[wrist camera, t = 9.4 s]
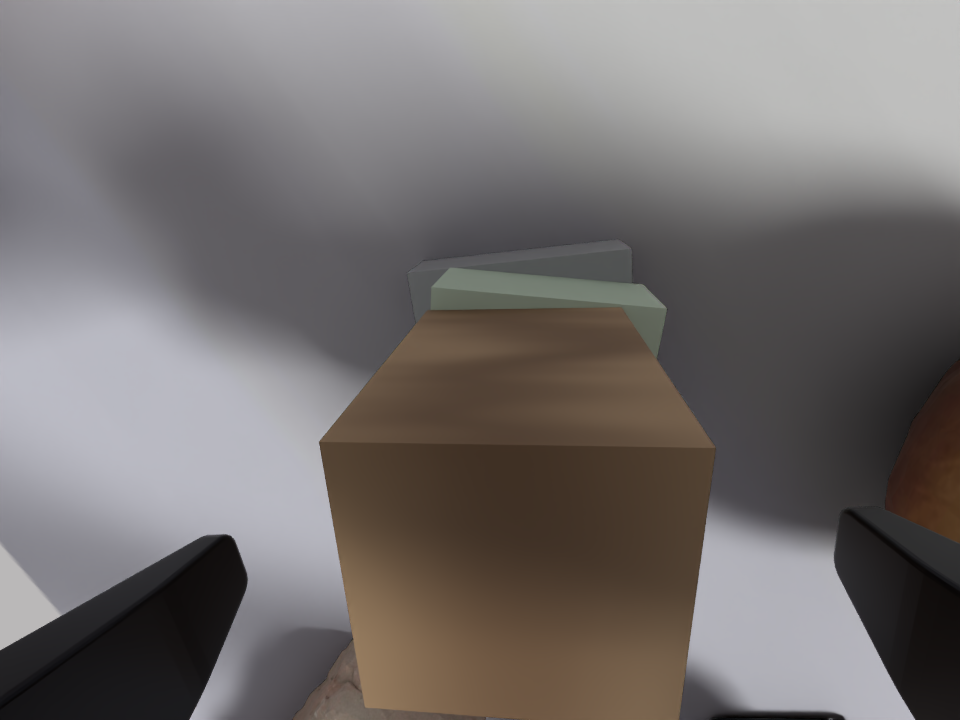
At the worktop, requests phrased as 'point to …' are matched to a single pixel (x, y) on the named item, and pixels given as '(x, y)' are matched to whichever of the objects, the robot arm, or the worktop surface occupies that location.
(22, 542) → the worktop surface
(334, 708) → the brick
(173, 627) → the robot arm
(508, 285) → the top block
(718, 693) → the worktop surface
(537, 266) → the base block
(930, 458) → the butternut squash
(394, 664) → the tan rectangular prism
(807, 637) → the worktop surface
